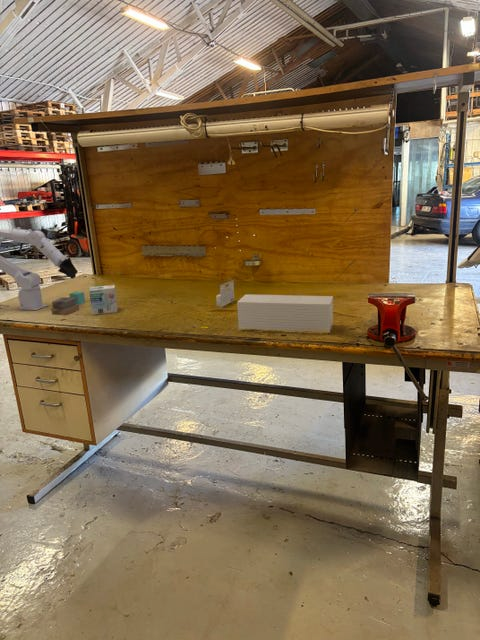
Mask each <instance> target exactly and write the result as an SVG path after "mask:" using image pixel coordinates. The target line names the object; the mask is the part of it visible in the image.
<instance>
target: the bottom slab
mask: <svg viewBox="0 0 480 640" xmlns="http://www.w3.org/2000/svg"><path fill="white" fill-rule="evenodd" d="M50 309H51V315H57V316H58V315H61V316H69V315H71V314H73V313H75V312H77V311H80V306H79V305H78V304H76V305H74V306H72V307H70V308H68V309H54V308H53V307H52V308H50Z"/></svg>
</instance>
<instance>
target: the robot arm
mask: <svg viewBox="0 0 480 640" xmlns="http://www.w3.org/2000/svg"><path fill="white" fill-rule="evenodd" d="M0 238H2V239H3V238H5V239H10V240H12V241H13V242H14V243H22V244H29V245H30V246H35V247H36V248H37V250H39V252H41V253H42V254H43V255H44V256H45V257H46V258H47V259H48V260H49V261H50V262H51V263H52V264H53V265H54V266H55V267H57V268H59V269H58V270H57V271H58V273H62V274H64V275H65V276H67V277H69V278H70V279H75V278H76V277H77V276H76V275H77V274H78V270H77V267H75V265H74V263H73V262H72V259H71V257H70V256H69V257H68V254H65V255H64V254H63V253H62V251H60V250H59V249H58V248H57V247H55V245H53V243H52V242H50V241H49V239H48V238H47V237H46V235H45V233H44V232H43V231H41V230H38V229H37V230H33V229H21V227H16V228H13V229H12V230H7V229H2V228H0ZM0 271H1V272H4V273H5V274H7V275H8V276H10V278H13V279H14V283H16V284H18V286H19V287H20V288H21V289H20V290H19V292H18V293H17V295H18V302H19V306H20V307H19V308H18V310H23V311H37V310H40V309H42V308H45V307H47V306H49V305H48V304H44V302H43V301H44V300H43V296H42V290H41V287H40V284H41V282H42V278H41V275H40V274H39V273H37V272H32V271H30V270H28V269H24V268H21V267H20V266H18V265H17V264H15V263H13V262H12V261H10V260H8V259H7V258H5V257H4V256H2V255H0Z"/></svg>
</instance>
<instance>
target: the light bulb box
mask: <svg viewBox="0 0 480 640" xmlns="http://www.w3.org/2000/svg"><path fill="white" fill-rule="evenodd" d="M115 286H116V285H115V284H109V285H100V286H90V287H89V288H88V289H89V290H88V292H89V301H90V307H91V314H92V315H93V316H95V315H103V314H112V313H118V312H119V311H118V299H117V293H116V287H115Z"/></svg>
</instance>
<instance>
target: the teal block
mask: <svg viewBox="0 0 480 640" xmlns="http://www.w3.org/2000/svg"><path fill="white" fill-rule="evenodd" d="M69 298H76V303H77V304H78V305H82V304H85V303H86V297H85V292H84V291H74V292H72V293H69Z"/></svg>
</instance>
